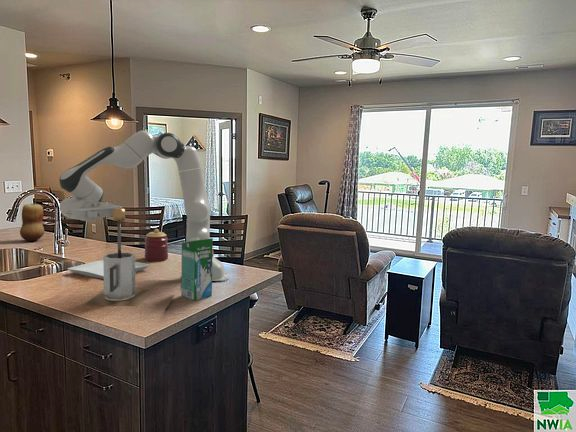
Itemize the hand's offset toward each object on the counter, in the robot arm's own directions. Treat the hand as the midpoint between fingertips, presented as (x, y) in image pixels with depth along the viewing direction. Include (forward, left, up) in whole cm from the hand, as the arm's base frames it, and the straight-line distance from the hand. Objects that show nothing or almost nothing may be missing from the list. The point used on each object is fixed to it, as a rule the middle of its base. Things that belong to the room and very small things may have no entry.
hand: (109, 213), depth 155 cm
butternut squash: (+91, -110, -35) cm, 147 cm away
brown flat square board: (-5, +4, -34) cm, 35 cm away
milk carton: (-34, -3, -35) cm, 49 cm away
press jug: (-5, +5, -33) cm, 34 cm away
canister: (-1, -67, -35) cm, 76 cm away
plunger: (-5, +4, -22) cm, 22 cm away
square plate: (+14, -37, -35) cm, 53 cm away
